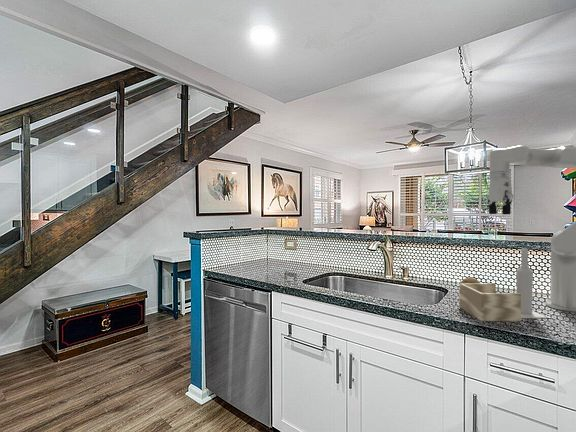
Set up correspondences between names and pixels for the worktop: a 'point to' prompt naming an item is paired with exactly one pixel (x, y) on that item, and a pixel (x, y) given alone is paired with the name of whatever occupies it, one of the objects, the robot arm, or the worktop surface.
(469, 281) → the natural sponge
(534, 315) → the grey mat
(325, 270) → the worktop surface
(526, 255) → the bottle
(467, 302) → the open side box
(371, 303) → the worktop surface
